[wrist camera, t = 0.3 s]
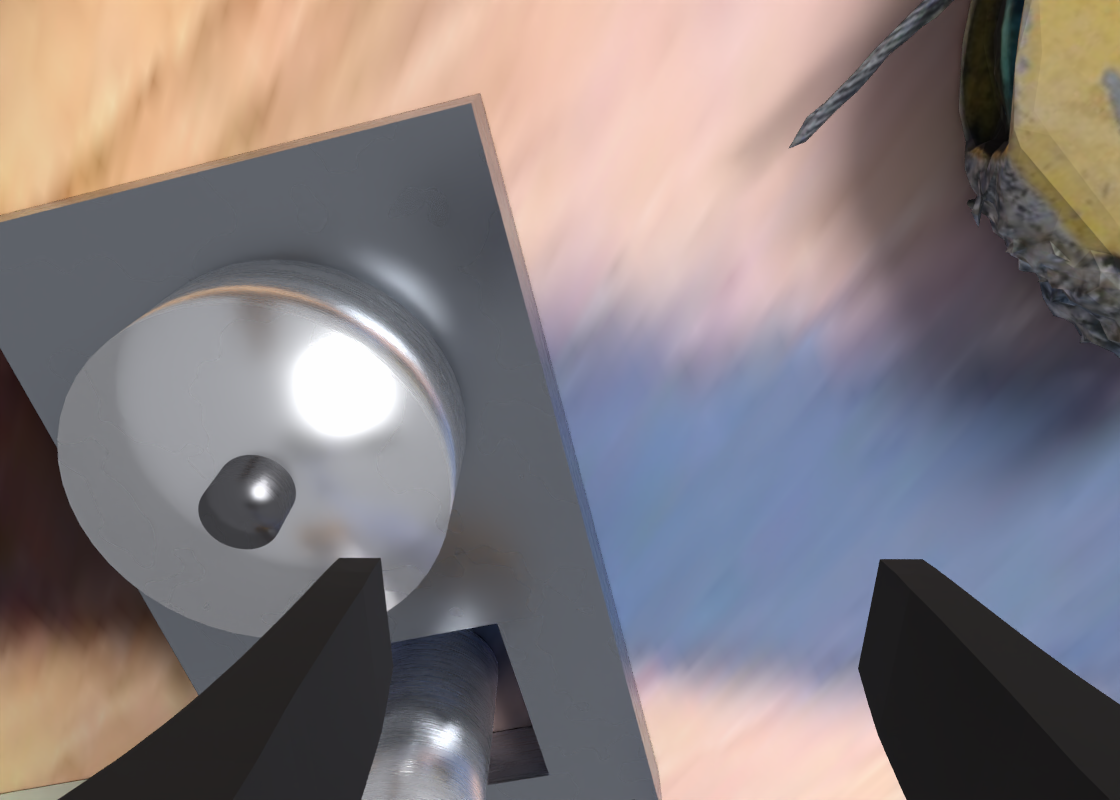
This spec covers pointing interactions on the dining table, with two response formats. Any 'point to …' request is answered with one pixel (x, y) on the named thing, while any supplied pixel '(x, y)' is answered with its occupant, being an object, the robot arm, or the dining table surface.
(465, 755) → the pin
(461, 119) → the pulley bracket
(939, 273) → the dining table surface
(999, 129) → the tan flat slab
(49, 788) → the tray
